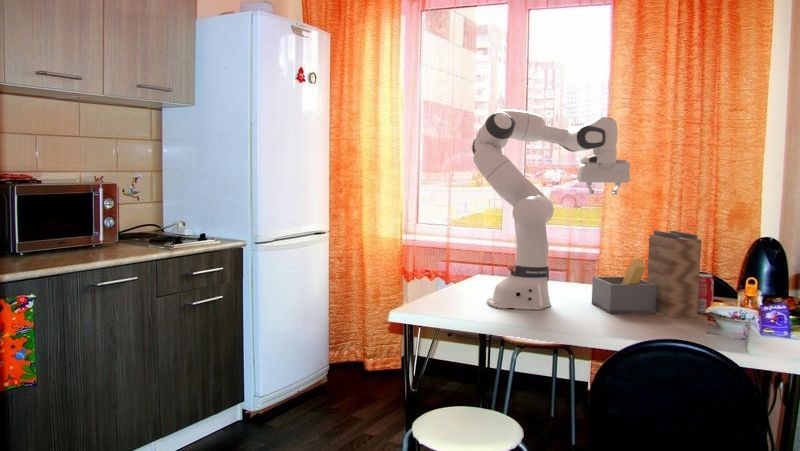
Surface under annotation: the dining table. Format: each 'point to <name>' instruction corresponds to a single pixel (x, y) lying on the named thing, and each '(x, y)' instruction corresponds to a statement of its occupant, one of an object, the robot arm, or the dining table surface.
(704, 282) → the soda can
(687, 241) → the stand
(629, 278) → the bar
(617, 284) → the bin
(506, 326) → the dining table surface
